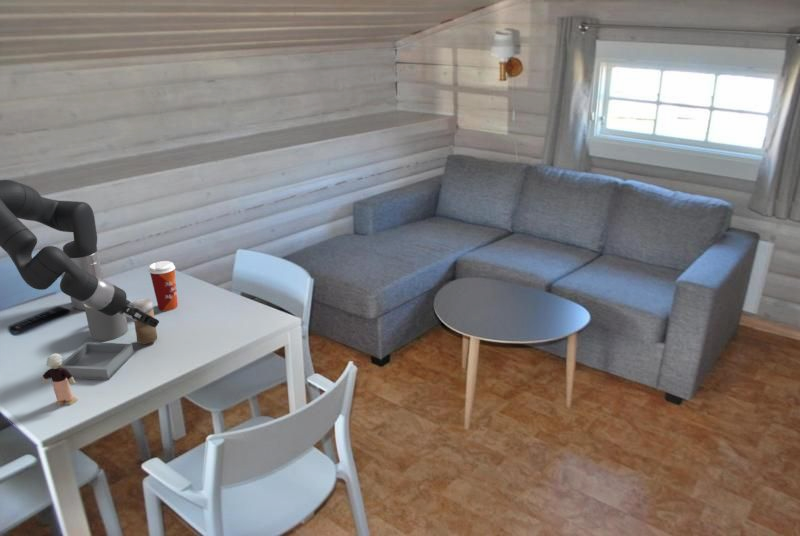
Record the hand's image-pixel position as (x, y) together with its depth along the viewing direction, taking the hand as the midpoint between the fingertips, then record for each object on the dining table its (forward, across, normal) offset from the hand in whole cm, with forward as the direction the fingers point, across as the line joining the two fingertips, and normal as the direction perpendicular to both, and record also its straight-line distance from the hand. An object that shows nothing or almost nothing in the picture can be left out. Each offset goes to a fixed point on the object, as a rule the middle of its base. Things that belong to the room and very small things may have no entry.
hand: (151, 320), depth 176 cm
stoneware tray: (-8, +1, -16) cm, 18 cm away
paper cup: (+15, -16, +5) cm, 23 cm away
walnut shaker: (+2, 0, -5) cm, 5 cm away
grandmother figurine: (-17, +12, -25) cm, 32 cm away
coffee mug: (+2, -15, -8) cm, 17 cm away
